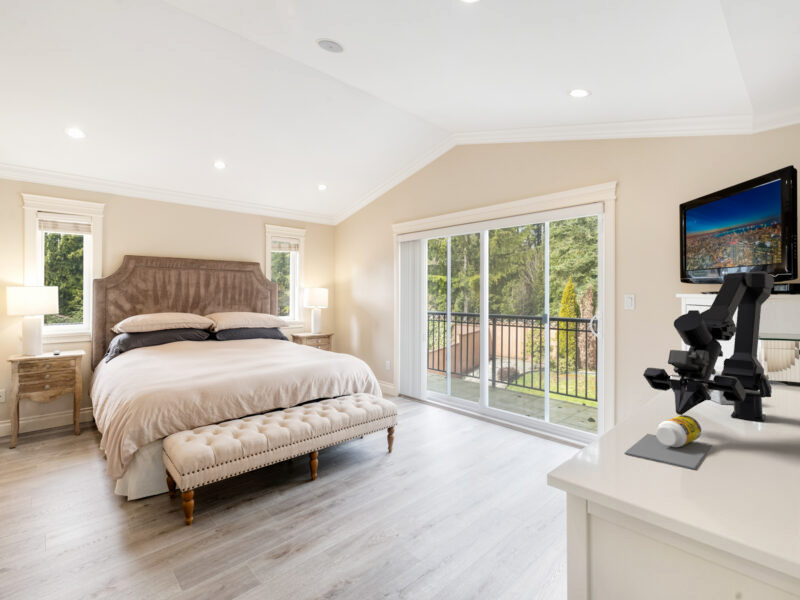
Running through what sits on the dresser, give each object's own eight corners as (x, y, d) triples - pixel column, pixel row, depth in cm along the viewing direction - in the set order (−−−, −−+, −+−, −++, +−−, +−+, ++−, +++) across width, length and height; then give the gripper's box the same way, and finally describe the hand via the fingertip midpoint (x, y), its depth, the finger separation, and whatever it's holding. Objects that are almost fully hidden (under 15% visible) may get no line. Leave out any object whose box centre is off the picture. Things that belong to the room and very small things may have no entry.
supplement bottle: (708, 428, 87) (686, 438, 81) (691, 445, 89) (669, 455, 84) (684, 409, 90) (662, 417, 85) (669, 425, 93) (646, 434, 88)
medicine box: (736, 404, 118) (735, 375, 118) (719, 404, 119) (718, 375, 119) (721, 398, 126) (719, 371, 126) (705, 398, 127) (703, 371, 127)
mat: (647, 435, 95) (647, 433, 95) (710, 447, 86) (710, 445, 86) (624, 454, 84) (624, 452, 84) (694, 469, 75) (694, 467, 75)
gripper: (645, 335, 100) (621, 384, 94) (736, 339, 84) (714, 399, 78) (664, 363, 104) (641, 412, 98) (755, 372, 88) (734, 432, 82)
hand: (678, 413), depth 89 cm, fingers closed
